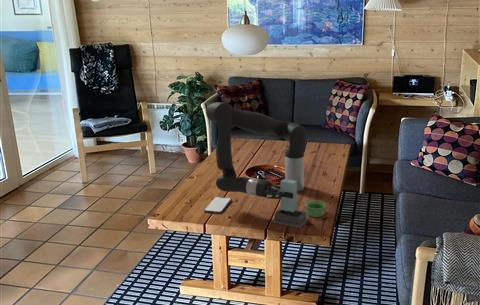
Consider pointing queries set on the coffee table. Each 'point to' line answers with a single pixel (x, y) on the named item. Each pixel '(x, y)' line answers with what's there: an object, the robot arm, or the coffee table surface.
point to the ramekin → (315, 208)
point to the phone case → (218, 205)
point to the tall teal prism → (290, 187)
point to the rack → (290, 218)
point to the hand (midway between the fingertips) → (294, 194)
